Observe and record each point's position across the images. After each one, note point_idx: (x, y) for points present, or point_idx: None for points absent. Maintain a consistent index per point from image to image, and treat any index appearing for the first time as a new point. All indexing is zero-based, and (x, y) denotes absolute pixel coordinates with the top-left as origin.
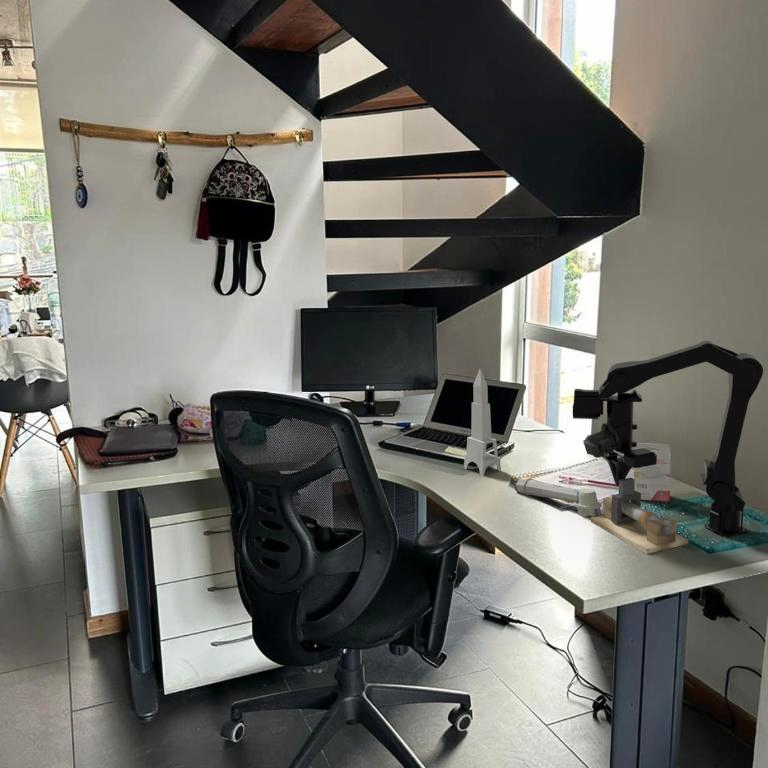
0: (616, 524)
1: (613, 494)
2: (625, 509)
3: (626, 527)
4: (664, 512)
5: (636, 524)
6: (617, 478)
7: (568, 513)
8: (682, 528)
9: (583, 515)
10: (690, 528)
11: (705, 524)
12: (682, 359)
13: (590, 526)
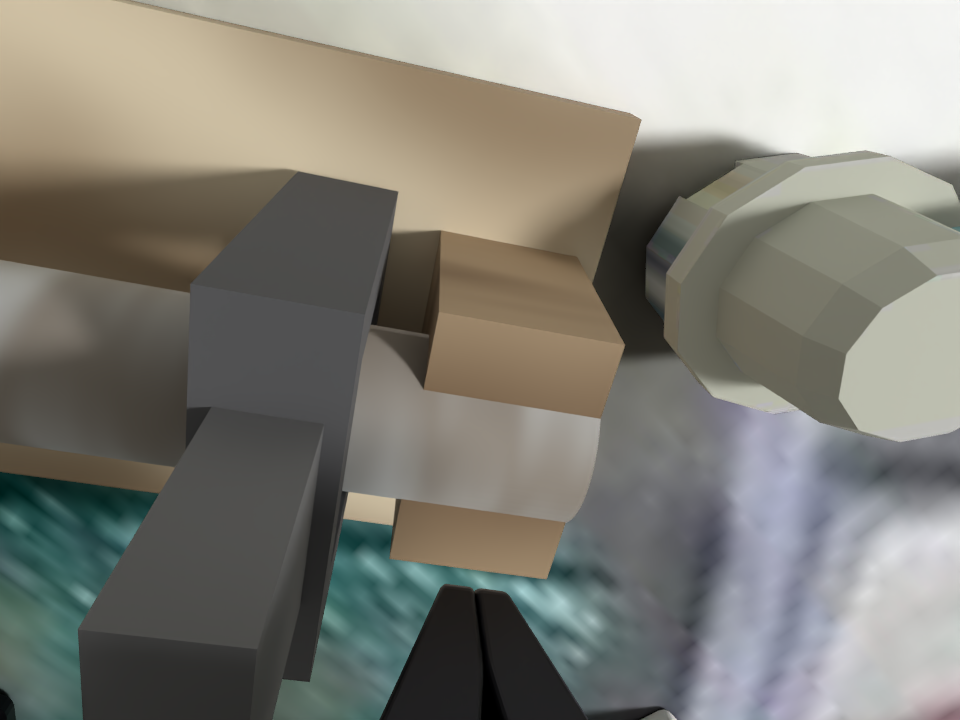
0: None
1: (571, 496)
2: None
3: (217, 216)
4: (364, 688)
5: None
6: (415, 698)
7: (942, 102)
8: (63, 586)
9: (771, 159)
10: (38, 622)
11: (4, 714)
12: None
13: (554, 6)
